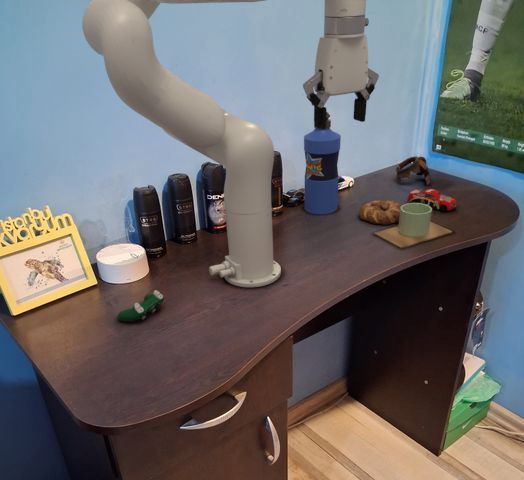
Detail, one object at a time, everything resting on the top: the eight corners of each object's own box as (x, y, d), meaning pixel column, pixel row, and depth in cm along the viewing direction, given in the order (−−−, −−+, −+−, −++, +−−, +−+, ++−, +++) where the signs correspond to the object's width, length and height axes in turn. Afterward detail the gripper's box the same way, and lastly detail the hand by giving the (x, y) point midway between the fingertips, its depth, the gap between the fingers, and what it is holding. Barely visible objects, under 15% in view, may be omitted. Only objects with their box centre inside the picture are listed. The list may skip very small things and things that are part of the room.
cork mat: (400, 248, 126) (401, 247, 126) (374, 234, 134) (374, 232, 133) (452, 232, 132) (452, 231, 132) (423, 219, 139) (423, 218, 139)
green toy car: (126, 332, 106) (139, 319, 101) (114, 317, 105) (126, 303, 101) (158, 310, 112) (171, 297, 108) (146, 296, 112) (158, 282, 107)
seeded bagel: (357, 225, 138) (358, 211, 136) (358, 209, 147) (359, 196, 145) (406, 226, 136) (407, 212, 134) (404, 210, 145) (405, 197, 143)
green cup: (411, 240, 129) (414, 216, 125) (391, 230, 134) (394, 207, 131) (435, 233, 131) (438, 209, 128) (414, 223, 137) (417, 200, 133)
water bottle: (318, 199, 155) (320, 105, 140) (344, 206, 149) (349, 109, 135) (296, 209, 149) (296, 112, 135) (323, 217, 144) (325, 117, 129)
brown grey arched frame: (427, 190, 158) (416, 166, 154) (399, 199, 165) (387, 176, 161) (440, 168, 164) (429, 144, 160) (412, 177, 171) (401, 154, 167)
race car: (459, 207, 145) (462, 193, 143) (450, 214, 142) (453, 199, 139) (414, 197, 152) (416, 183, 150) (404, 203, 149) (406, 189, 147)
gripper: (368, 22, 107) (362, 114, 117) (294, 29, 101) (294, 126, 111) (393, 24, 102) (385, 121, 112) (316, 32, 95) (314, 134, 105)
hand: (339, 124), depth 111 cm, fingers open, 9 cm apart
